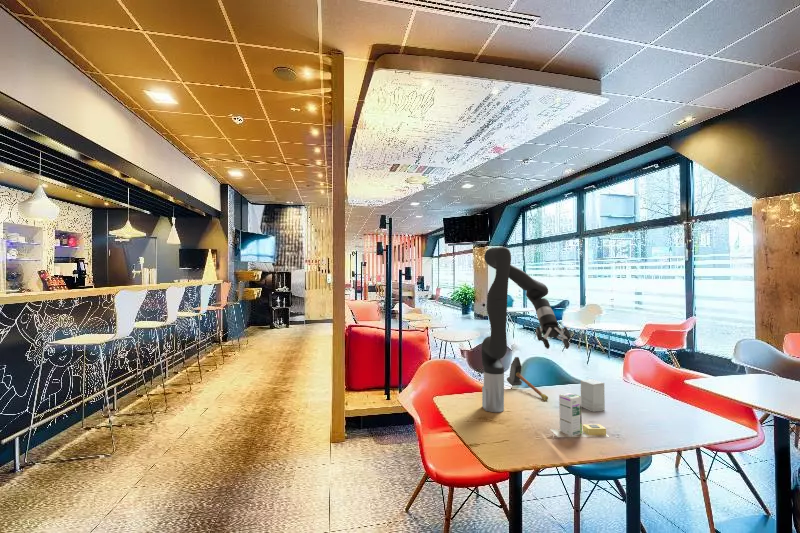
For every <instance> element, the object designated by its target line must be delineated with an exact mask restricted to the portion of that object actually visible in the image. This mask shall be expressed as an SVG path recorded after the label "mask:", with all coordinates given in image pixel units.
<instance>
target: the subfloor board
mask: <svg viewBox="0 0 800 533" xmlns="http://www.w3.org/2000/svg"><path fill="white" fill-rule="evenodd" d="M549 430H550V431H551V432H552V433H553V434H554V435H555V436H556V437H557V438H607V437H608V438H610V436H609V435H608V434H607V433H606V435H588V434H586V433H585V432H584V431H583V428H582V434H579V435H575V436H573V437H571V436H569V435H567V434H565V433H563V432H561V431H560V428H559V429H558V428H550V429H549Z"/></svg>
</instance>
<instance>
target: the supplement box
mask: <svg viewBox="0 0 800 533" xmlns="http://www.w3.org/2000/svg"><path fill="white" fill-rule="evenodd" d="M580 396H581V408H584V409H586V410H588V411H590V412H593V413H595V412H601V411H602V412H603V411H605V409H606V408H605V407H606V406H605V404H606V402H605V401H606V399H605V382H602V381H600V380H595V379H593V378H589V379H582V380H580Z"/></svg>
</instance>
